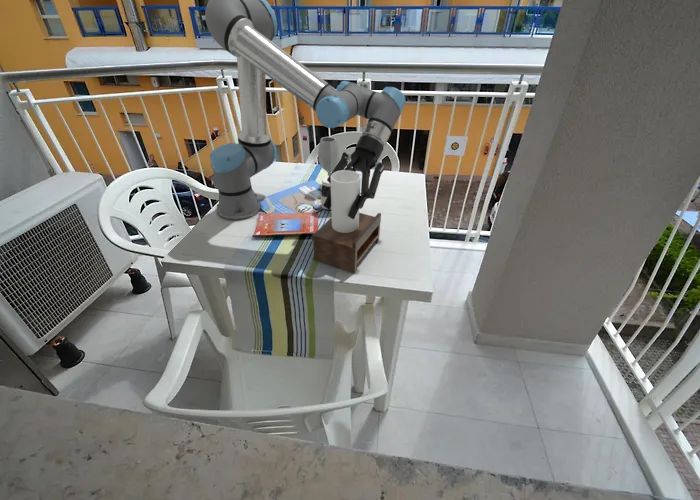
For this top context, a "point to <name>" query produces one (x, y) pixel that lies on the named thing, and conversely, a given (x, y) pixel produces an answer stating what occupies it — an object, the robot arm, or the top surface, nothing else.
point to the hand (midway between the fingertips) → (338, 212)
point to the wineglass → (328, 154)
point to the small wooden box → (346, 242)
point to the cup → (344, 200)
